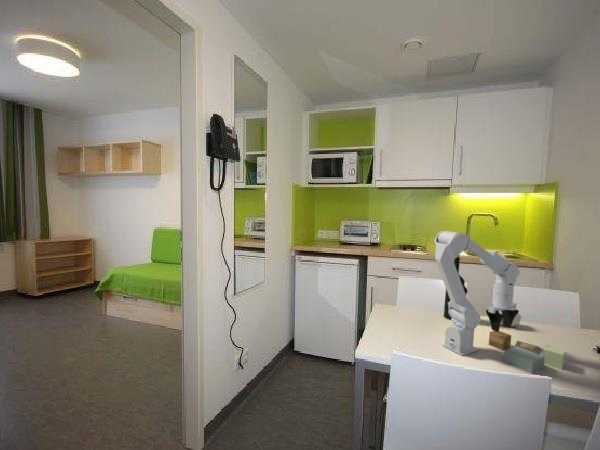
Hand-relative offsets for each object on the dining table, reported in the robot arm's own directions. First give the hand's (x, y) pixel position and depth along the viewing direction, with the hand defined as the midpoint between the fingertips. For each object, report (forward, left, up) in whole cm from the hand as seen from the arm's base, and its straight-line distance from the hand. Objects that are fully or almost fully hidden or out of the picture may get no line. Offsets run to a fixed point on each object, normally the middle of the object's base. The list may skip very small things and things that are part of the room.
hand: (500, 328), depth 110 cm
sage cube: (+4, -15, -7) cm, 17 cm away
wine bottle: (+10, +25, -7) cm, 28 cm away
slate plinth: (-6, -11, -7) cm, 14 cm away
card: (+9, -5, -7) cm, 12 cm away
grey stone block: (+25, +10, -7) cm, 28 cm away
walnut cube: (0, 0, -7) cm, 7 cm away
